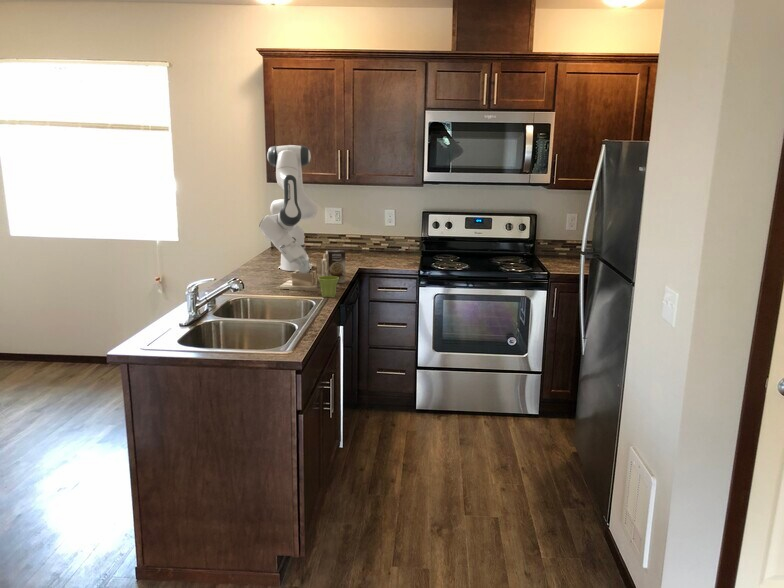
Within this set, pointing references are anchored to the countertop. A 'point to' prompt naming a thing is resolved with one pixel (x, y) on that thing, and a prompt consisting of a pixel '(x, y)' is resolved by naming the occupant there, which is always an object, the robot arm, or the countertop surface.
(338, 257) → the coffee box
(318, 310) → the countertop surface
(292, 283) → the caddy
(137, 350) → the countertop surface
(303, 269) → the block
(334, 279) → the plant pot
